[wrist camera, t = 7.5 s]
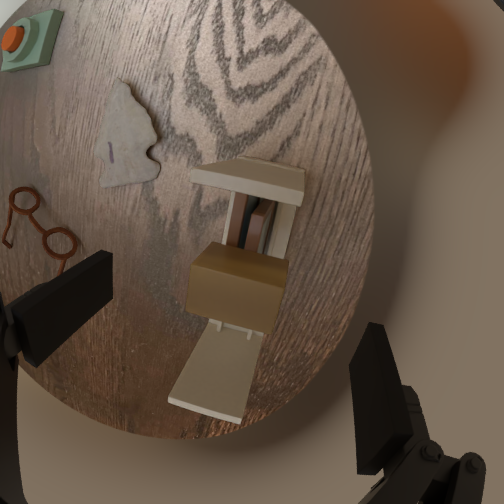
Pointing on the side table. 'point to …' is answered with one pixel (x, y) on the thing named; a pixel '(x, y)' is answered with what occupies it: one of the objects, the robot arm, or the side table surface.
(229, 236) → the window frame
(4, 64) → the button box
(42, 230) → the glasses
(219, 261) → the pane
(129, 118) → the decorative stone
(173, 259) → the side table surface
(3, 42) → the button
